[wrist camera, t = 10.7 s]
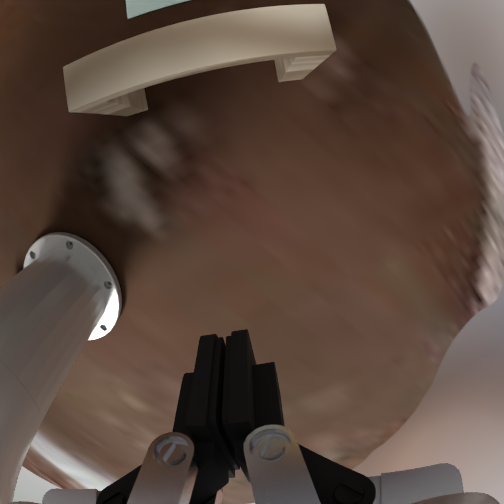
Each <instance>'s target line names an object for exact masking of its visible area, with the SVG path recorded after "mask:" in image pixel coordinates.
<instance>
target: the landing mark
mask: <svg viewBox="0 0 504 504" xmlns="http://www.w3.org/2000/svg"><path fill="white" fill-rule="evenodd" d="M186 1H190V0H126V9H127V18H128V19H130V18H133V17H136V16H138V15H141V14H144V13H147V12H151V11H154V10H157V9H160V8H164V7H167V6H171V5H174V4H178V3H182V2H186Z"/></svg>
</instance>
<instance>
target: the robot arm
mask: <svg viewBox="0 0 504 504" xmlns="http://www.w3.org/2000/svg"><path fill="white" fill-rule="evenodd" d="M121 309H122V295H121V289H120V285H119V282H118V279H117V277H116V275H115V273H114V271H113V269H112V267H111V265H110V264H109V263H108V261H107V260H106V258H105V257H104V256H103V255H102V254H101V253H100V252H99V251H98V250H97V249H96V248H95V247H94V246H93V245H91V244H90V243H89V242H88V241H86V240H84V239H82V238H80V237H79V236H77V235H73V234H70V233H66V232H54V233H49V234H47V235H45V236H43V237H41V238H40V239H38V240H37V241H35V242H34V243H33V245H32V246H31V247H30V248H29V250H28V252H27V254H26V257H25V261H24V269H23V270H22V271H20V272H19V273H18V274H17V275H15V276H14V277H13V278H12V279H10V280H9V281H8V282H7V283H6V284H4V285H3V286H2V287H1V288H0V504H38V503H33V502H21V501H19V502H13V497H14V491H15V487H16V483H17V479H18V475H19V473H20V470H21V467H22V464H23V461H24V459H25V456H26V454H27V452H28V449H29V447H30V445H31V443H32V440H33V438H34V436H35V434H36V432H37V430H38V428H39V426H40V424H41V423H42V421H43V419H44V417H45V415H46V413H47V411H48V409H49V407H50V405H51V404H52V402H53V400H54V398H55V396H56V394H57V393H58V391H59V389H60V387H61V385H62V384H63V382H64V380H65V378H66V377H67V375H68V373H69V371H70V370H71V368H72V366H73V364H74V363H75V361H76V359H77V358H78V356H79V354H80V353H81V351H82V349H83V348H84V346H85V345H86V343H87V341H88V340H93V339H98V338H101V337H103V336H105V335H106V334H107V333H109V332H110V331H111V330H112V328H113V327H114V326H115V324H116V322H117V320H118V318H119V316H120V313H121ZM240 467H241V469H242V471H243V472H244V474H245V476H246V478H247V480H248V481H249V482H250V483H251V486H252V491H253V495H254V499H255V503H256V504H499V502H498V501H497V500H496V499H495V498H493V497H492V496H490V495H488V494H485V493H478V492H466V493H464V492H463V484H462V478H461V475H460V472H459V470H458V469H457V468H456V467H455V466H454V465H451V464H448V463H444V464H436V465H431V466H426V467H421V468H415V469H410V470H404V471H396V472H390V473H381V476H372V477H366V476H364V475H362V474H360V473H358V472H355V471H353V470H351V469H349V468H346V467H344V466H342V465H340V464H338V463H335V462H333V461H331V460H329V459H327V458H325V457H323V456H321V455H319V454H317V453H315V452H313V451H311V450H309V449H307V448H305V447H303V446H301V445H299V444H298V442H297V440H296V437H295V435H294V434H293V432H292V431H290V430H289V429H288V428H286V427H285V426H284V419H283V411H282V404H281V397H280V390H279V384H278V378H277V373H276V368H275V363H274V362H270V363H264V364H258V365H256V362H255V357H254V353H253V349H252V345H251V341H250V337H249V333H248V330H247V329H246V330H239V331H233V332H232V334H231V336H227V337H226V346H225V342H224V339H223V337H220V338H218V337H217V335H216V334H212V335H205V336H201V337H200V340H199V346H198V352H197V357H196V363H195V369H194V373H185V374H184V376H183V380H182V385H181V390H180V395H179V400H178V405H177V411H176V416H175V421H174V427H173V432H169V433H166V434H163V435H161V436H159V437H157V438H156V439H155V440H154V441H153V442H152V443H151V445H150V447H149V449H148V451H147V454H146V456H145V459H144V461H143V464H142V465H140V466H139V467H137V468H136V469H134V470H133V471H131V472H130V473H128V474H127V475H125V476H124V477H122V478H120V479H119V480H117V481H116V482H114V483H112V484H111V485H109V486H108V487H106V488H105V489H103V490H102V491H98V490H97V489H51V490H49V491H48V492H47V493H46V494H45V495H44V497H43V501H42V504H221V499H222V494H223V487H224V486H225V485H226V484H227V483H228V482H229V478H233V477H235V470H237V469H240Z"/></svg>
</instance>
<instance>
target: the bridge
mask: <svg viewBox="0 0 504 504" xmlns="http://www.w3.org/2000/svg"><path fill="white" fill-rule="evenodd" d="M335 51H336V45H335V41H334V37H333V33H332V29H331V25H330V22H329V18H328V14H327V11H326V7H325V4H300V5H283V6H271V7H261V8H253V9H246V10H239V11H232V12H227V13H221V14H216V15H211V16H206V17H201V18H197V19H192V20H188V21H184V22H180V23H177V24H173V25H169V26H166V27H162V28H159V29H156V30H152V31H149V32H146V33H143V34H140V35H137V36H134V37H132V38H129V39H126V40H123V41H121V42H118V43H115V44H113V45H110V46H108V47H105V48H103V49H101V50H98V51H96V52H94V53H91V54H89V55H87V56H85V57H83V58H81V59H78V60H76V61H74V62H72V63H70V64H68V65H66V66H64V67H63V73H64V82H65V90H66V97H67V104H68V110H69V112H77V113H93V114H106V115H117V116H130V115H133V114H136V113H139V112H142V111H146V110H148V106H147V101H146V95H145V90H144V88H146V87H149V86H152V85H156V84H159V83H163V82H166V81H170V80H173V79H177V78H181V77H185V76H189V75H193V74H197V73H201V72H206V71H210V70H215V69H220V68H225V67H230V66H236V65H242V64H248V63H254V62H261V61H268V60H274V62H275V67H276V71H277V76H278V81H279V82H282V81H290V80H300V79H303V78H304V77H305V76H307V75H308V74H309V73H310V72H311V71H312V70H314V69H315V68H316V67H317V66H318V65H319V64H321V63H322V62H323V61H324V60H325V59H327V58H328V57H329V56H330V55H331V54H333V53H334V52H335Z"/></svg>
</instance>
